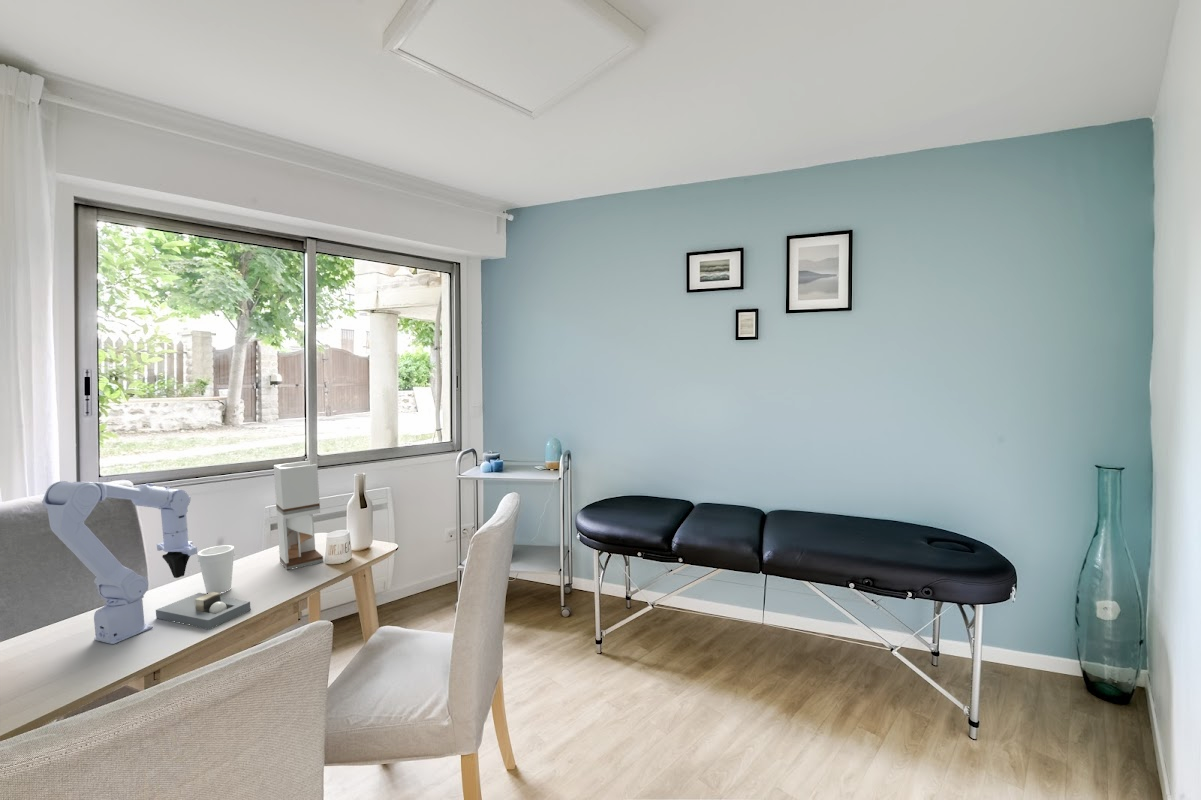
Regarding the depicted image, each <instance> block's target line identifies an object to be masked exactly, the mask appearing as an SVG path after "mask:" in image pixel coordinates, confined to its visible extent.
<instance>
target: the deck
mask: <svg viewBox="0 0 1201 800" xmlns="http://www.w3.org/2000/svg"><path fill="white" fill-rule="evenodd" d="M206 594H207V593H205V592H197V593H194V594H192V595H190V596H187V597H184V598H183V599H180V600H177V601H175V602H172V603H170V604H167V605H165V606H162V607H159V608H157V609H155V616H156V617H155V618H159V619H158V620H161V619H163V620H162V621H166V620H168V621H167V622H171V621H175V622H174V623H176V622H180V623H184V624H183V625H185V624H190V625H193V626H192V627H195V626H197V627H196V628H200V627H201V628H200V629H205V628H206V630H211V629H213V628H215V627H217V626H219V624H220V625H221V623H222V624H223V622H224V623H226V622H228V621H230V620H232V619H235V618H236V617H239V616H241V615H243V614H245V613H248V612H250V611H251V601H249V600H242V599H237V598H231V597H225V596H221V595H220V599H221V602H224V603H225V604H226V606H227V609H226V610H224V611H222V612H219V613H217V614H212V613H210V612H209V609H210V608H209V609H207V610H204V611H201V610H196V607H195V599H196V598H199V597H201V596H204V595H206ZM249 610H250V611H249ZM247 611H248V612H247ZM180 623H179V624H180ZM190 625H189V626H190ZM216 625H217V626H216ZM212 627H213V628H212ZM210 628H211V629H210Z"/></svg>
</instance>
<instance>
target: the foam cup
mask: <svg viewBox="0 0 1201 800" xmlns="http://www.w3.org/2000/svg"><path fill="white" fill-rule="evenodd" d="M234 558H235V546H234V545H231V544H230V545H228V544H226V545H225V544H224V545H217V546H211V547H207V548H204V549H202V550H199V551H197V562H198V564H199V567H200V572H201V576H202V580H203V584H204V588H205V592H206V594H207V593H208V594H209V593H211V592H216V593H221V592H225V591H227V590H229V589H230V588H231V589H232V581H233V568H234V567H233V566H234ZM229 591H230V590H229ZM225 593H226V592H225Z"/></svg>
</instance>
